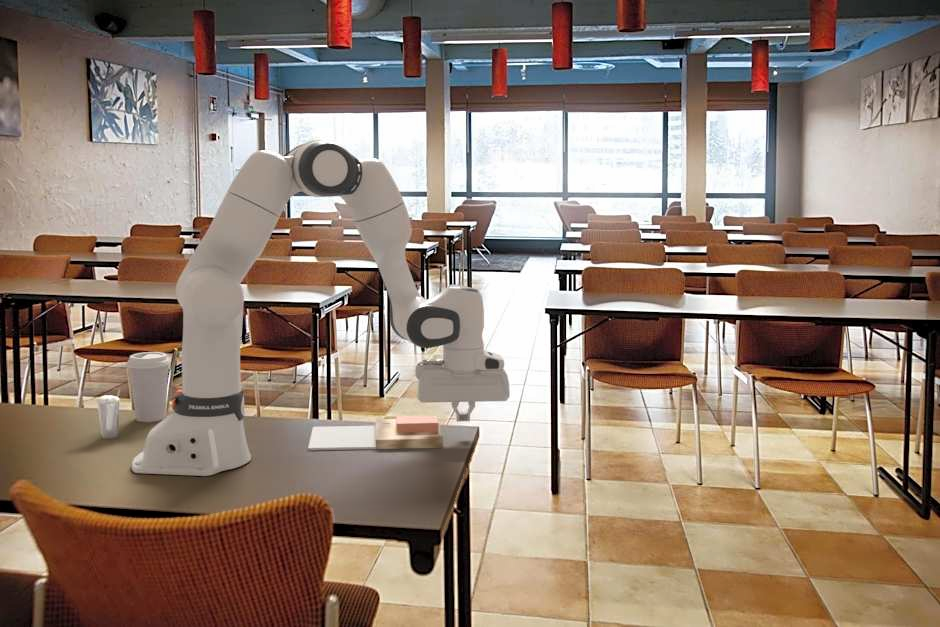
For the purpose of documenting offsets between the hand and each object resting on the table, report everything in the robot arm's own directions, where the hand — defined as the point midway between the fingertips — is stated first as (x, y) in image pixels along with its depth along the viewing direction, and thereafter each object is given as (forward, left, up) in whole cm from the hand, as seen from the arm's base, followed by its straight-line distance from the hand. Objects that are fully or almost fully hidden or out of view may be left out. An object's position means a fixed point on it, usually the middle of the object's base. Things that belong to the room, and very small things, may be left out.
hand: (463, 420), depth 200 cm
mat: (-26, 0, -4) cm, 26 cm away
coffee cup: (-71, +19, -4) cm, 74 cm away
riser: (-12, 0, -4) cm, 13 cm away
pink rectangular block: (-10, 0, -2) cm, 10 cm away
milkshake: (-76, +5, -4) cm, 76 cm away
